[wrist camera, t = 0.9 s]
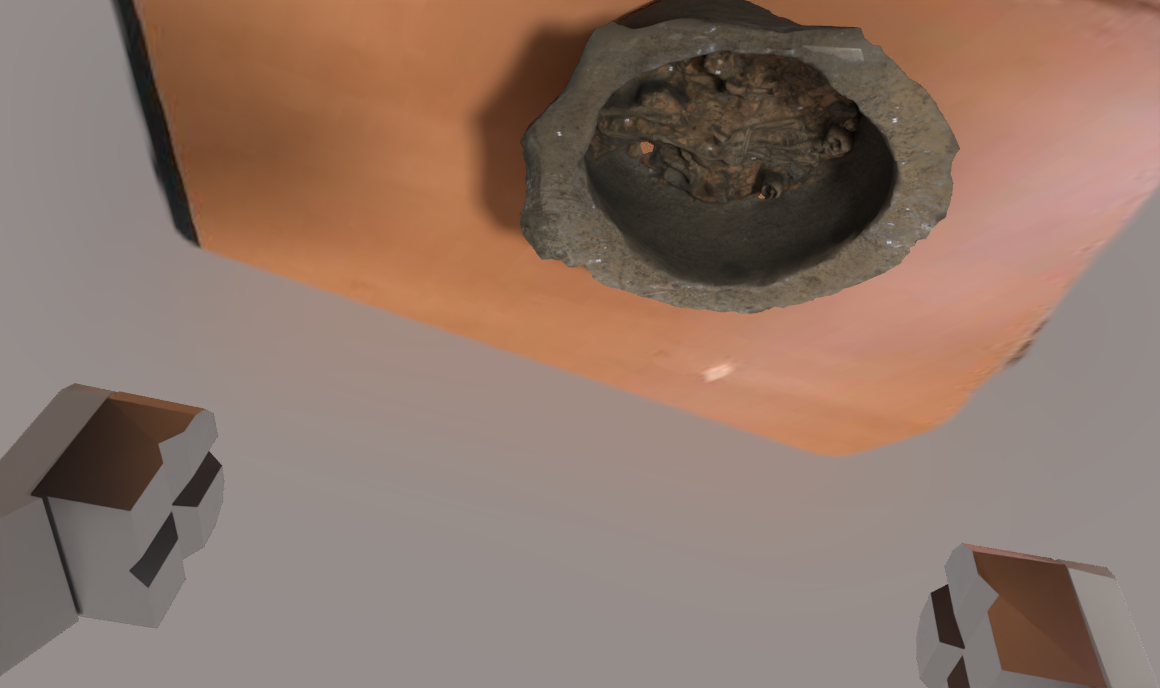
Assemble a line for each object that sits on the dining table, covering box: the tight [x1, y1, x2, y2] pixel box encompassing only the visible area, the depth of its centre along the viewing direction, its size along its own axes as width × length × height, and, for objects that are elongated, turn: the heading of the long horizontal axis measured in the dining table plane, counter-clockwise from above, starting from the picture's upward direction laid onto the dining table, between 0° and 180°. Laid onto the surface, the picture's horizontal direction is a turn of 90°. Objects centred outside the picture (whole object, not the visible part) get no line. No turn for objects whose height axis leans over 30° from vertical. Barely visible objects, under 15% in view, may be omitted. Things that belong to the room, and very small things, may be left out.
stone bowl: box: [520, 0, 960, 314], centre depth 59 cm, size 25×25×9 cm
